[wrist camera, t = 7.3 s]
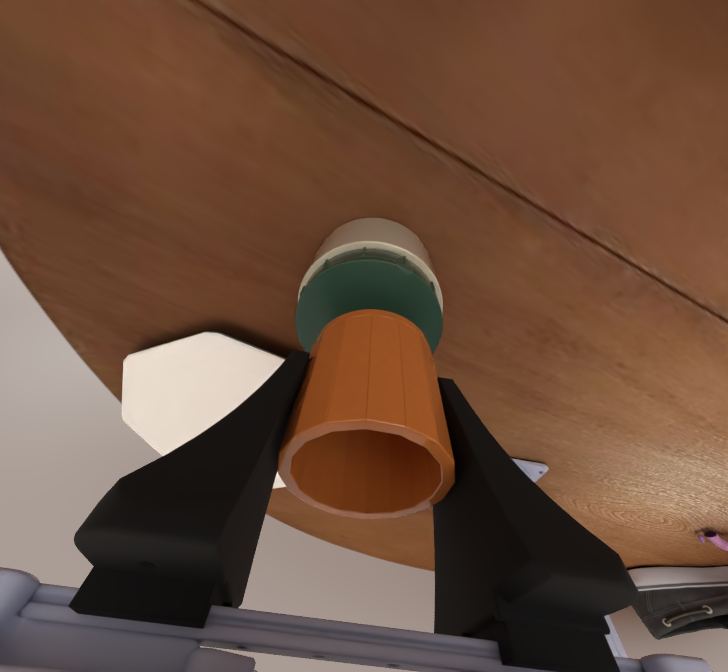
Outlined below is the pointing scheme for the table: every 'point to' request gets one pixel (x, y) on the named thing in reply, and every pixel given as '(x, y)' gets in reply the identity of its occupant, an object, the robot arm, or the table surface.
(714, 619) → the boat shoe
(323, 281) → the jar lid
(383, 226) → the jar
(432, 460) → the cup
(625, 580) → the robot arm
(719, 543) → the toy
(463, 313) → the table surface
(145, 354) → the plate
